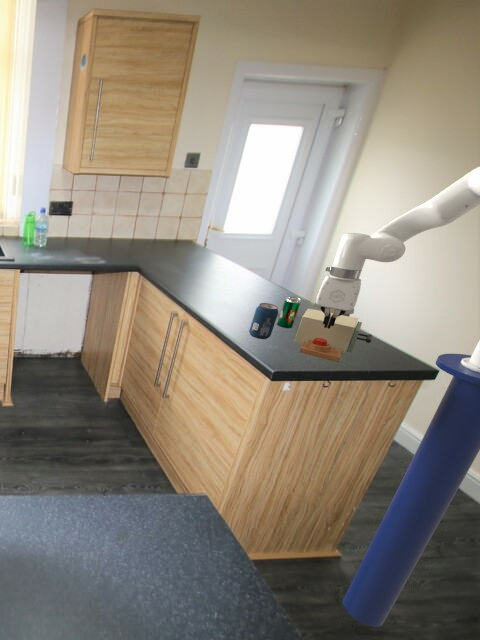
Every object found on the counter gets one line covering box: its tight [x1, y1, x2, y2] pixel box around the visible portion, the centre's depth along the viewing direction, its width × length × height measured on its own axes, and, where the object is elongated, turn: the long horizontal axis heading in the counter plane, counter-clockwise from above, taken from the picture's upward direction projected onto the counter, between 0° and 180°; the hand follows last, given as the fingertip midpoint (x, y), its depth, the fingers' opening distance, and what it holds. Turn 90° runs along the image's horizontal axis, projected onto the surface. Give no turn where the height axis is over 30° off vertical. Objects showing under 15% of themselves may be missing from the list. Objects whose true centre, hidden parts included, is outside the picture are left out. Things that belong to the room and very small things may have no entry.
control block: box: [298, 340, 343, 363], centre depth 159 cm, size 11×8×4 cm
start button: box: [313, 338, 327, 346], centre depth 159 cm, size 4×4×2 cm
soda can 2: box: [276, 296, 302, 329], centre depth 179 cm, size 5×5×12 cm
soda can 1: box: [248, 302, 279, 340], centre depth 170 cm, size 7×7×12 cm
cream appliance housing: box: [293, 308, 359, 355], centre depth 167 cm, size 15×13×10 cm
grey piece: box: [346, 321, 373, 353], centre depth 164 cm, size 18×12×8 cm, turn 49°
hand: (327, 327), depth 156 cm, fingers closed
